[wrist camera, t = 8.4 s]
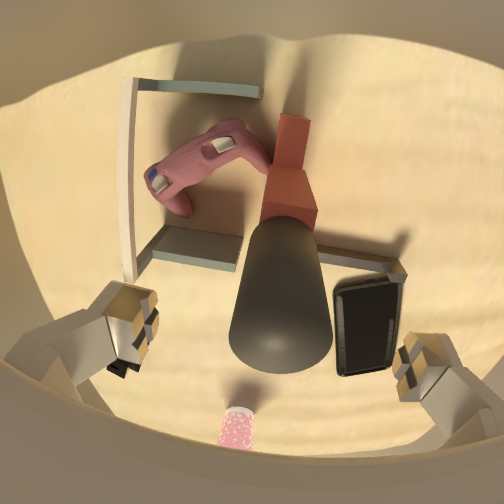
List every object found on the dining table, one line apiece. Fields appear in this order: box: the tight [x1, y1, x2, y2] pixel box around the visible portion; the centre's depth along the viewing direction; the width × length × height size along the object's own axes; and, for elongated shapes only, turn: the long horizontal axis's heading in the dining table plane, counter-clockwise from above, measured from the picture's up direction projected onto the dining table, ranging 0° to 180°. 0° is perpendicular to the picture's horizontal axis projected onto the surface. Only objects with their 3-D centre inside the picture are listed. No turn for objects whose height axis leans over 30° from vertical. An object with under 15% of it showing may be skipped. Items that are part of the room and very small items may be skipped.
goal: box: [117, 77, 264, 284], centre depth 22 cm, size 8×15×9 cm, turn 173°
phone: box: [332, 276, 403, 377], centre depth 33 cm, size 8×1×15 cm
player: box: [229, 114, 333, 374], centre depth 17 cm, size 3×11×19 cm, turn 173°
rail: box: [316, 245, 408, 283], centre depth 27 cm, size 14×1×3 cm, turn 83°
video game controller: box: [144, 119, 272, 219], centre depth 23 cm, size 10×5×7 cm, turn 120°
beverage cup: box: [217, 407, 254, 451], centre depth 37 cm, size 6×6×14 cm
